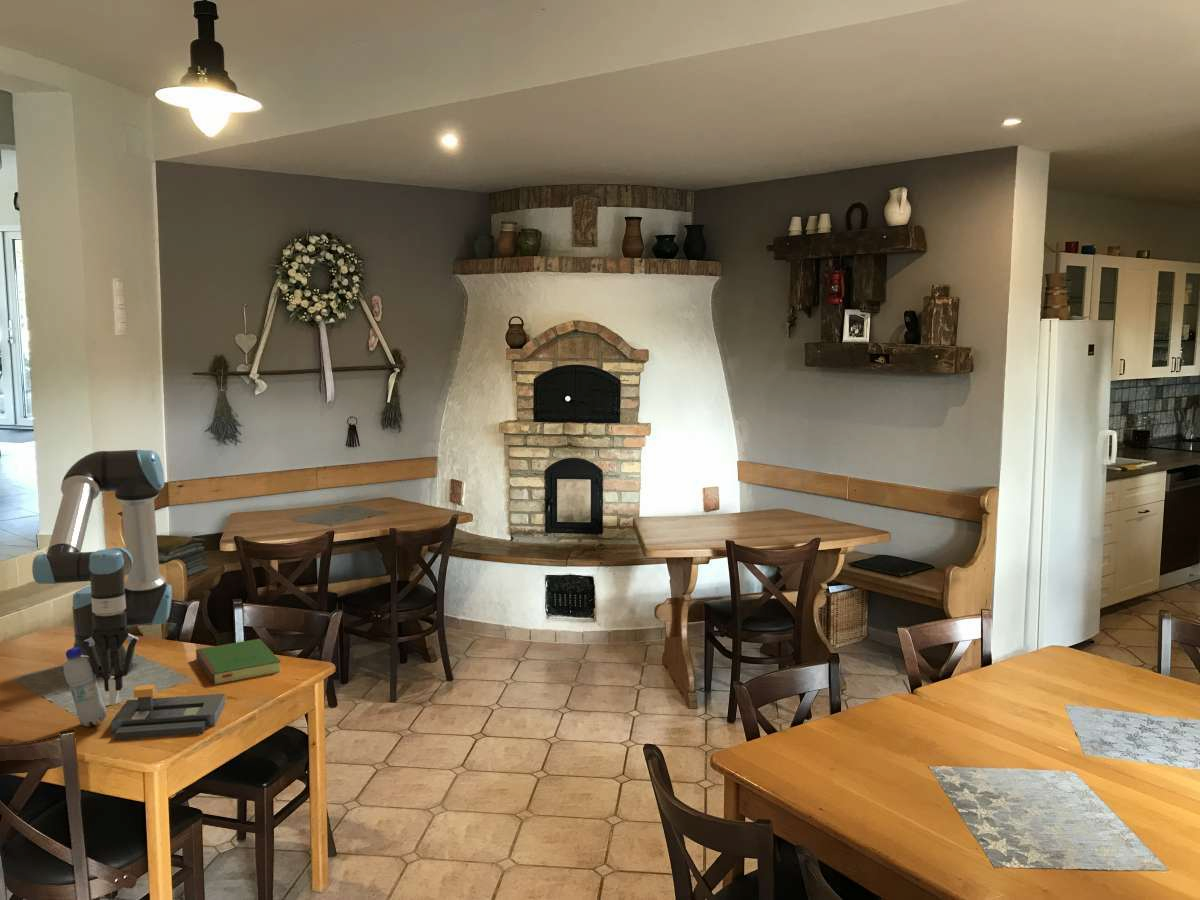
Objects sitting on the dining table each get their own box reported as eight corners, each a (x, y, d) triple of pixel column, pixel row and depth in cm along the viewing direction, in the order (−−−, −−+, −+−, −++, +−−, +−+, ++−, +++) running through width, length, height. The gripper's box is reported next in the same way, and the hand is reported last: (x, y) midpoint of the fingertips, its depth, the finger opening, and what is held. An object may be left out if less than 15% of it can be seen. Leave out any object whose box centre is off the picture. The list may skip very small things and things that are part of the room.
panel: (127, 711, 245) (127, 699, 245) (225, 704, 250) (224, 692, 250) (111, 733, 232) (110, 721, 231) (214, 725, 236) (214, 713, 236)
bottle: (96, 727, 233) (73, 652, 230) (73, 729, 234) (51, 654, 231) (115, 714, 239) (93, 641, 236) (93, 717, 241) (71, 644, 238)
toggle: (138, 711, 240) (136, 685, 240) (156, 710, 241) (155, 684, 240) (135, 716, 237) (133, 690, 237) (153, 715, 238) (152, 688, 238)
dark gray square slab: (139, 706, 248) (138, 699, 248) (219, 700, 252) (219, 694, 252) (115, 740, 228) (114, 732, 228) (202, 733, 232) (202, 726, 232)
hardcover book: (196, 661, 284) (195, 649, 284) (260, 650, 294) (259, 638, 294) (213, 687, 264) (213, 674, 263) (281, 674, 274) (281, 662, 273)
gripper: (75, 617, 230) (81, 710, 232) (133, 614, 232) (138, 706, 235) (85, 609, 237) (91, 699, 240) (141, 606, 240) (146, 695, 242)
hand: (114, 702), depth 237 cm, fingers closed
